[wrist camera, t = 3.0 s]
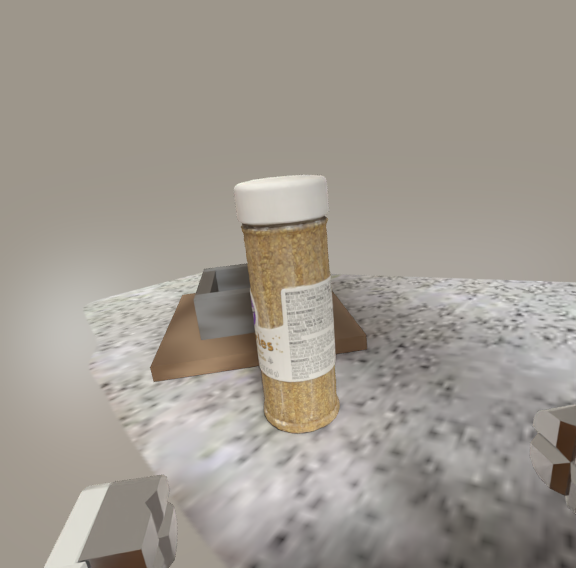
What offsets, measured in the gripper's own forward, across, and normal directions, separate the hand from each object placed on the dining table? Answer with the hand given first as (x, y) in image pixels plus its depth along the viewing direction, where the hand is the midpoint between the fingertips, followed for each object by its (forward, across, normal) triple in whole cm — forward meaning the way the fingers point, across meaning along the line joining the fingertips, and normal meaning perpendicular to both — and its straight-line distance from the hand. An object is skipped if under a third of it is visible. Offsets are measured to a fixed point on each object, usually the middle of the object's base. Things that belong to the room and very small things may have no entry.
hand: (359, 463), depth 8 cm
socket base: (+26, +2, +8) cm, 27 cm away
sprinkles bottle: (+12, 0, +8) cm, 15 cm away
